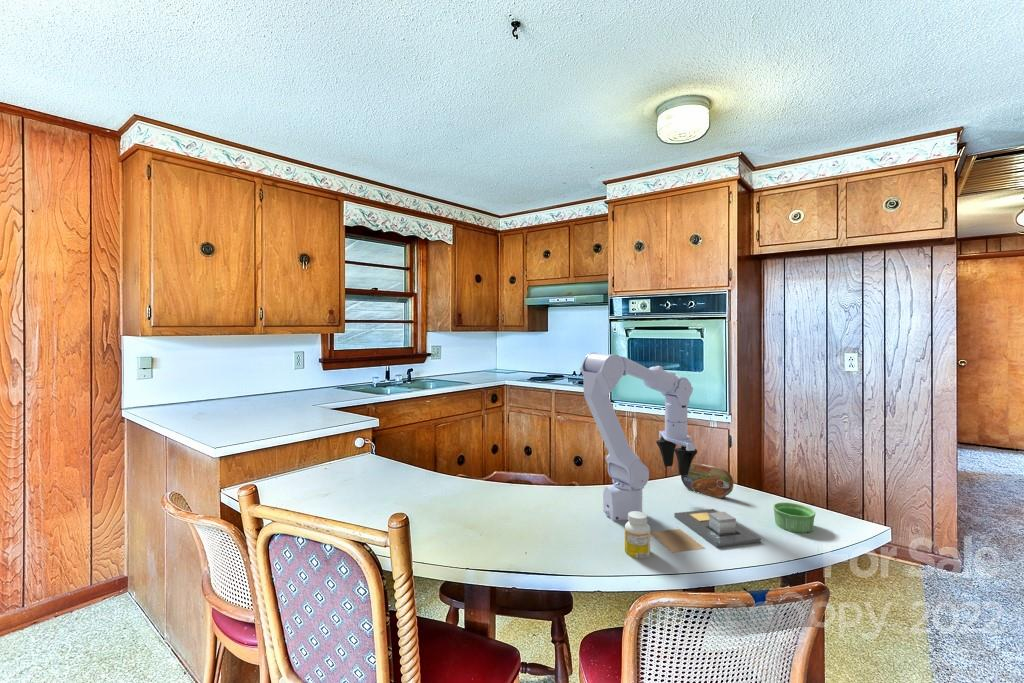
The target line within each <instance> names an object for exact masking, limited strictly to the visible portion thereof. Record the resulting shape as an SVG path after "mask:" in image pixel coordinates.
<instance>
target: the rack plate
mask: <svg viewBox="0 0 1024 683" xmlns="http://www.w3.org/2000/svg"><path fill="white" fill-rule="evenodd" d="M715 512H718V511H717V510H716V509H714V508H709V509H701V510H699V509H698V510H691V511H680V512H674V515H673V516H674V518H675V519H677V521H679V522H680V523H682V524H683V525H684V526H686V527H687V528H689V529H690V530H691V531H692V532H694V533H695V534H697V535H698V536H699V537H701V538H702V539H703V540H705V541H706V542H708V543H709V544H711V545H712V546H713V547H715V548H716V549H722V548H731V547H738V546H746V545H747V546H748V545H753V544H754V545H755V544H762V538H761V537H759V536H758V535H756V534H755V533H753V532H751V531H750V530H748V529H747V528H745V527H743V526H742V525H740V524H738V523H737V522H736V526H735V535H731V536H722V537H720V536H718V535H717V534H715V533H714V532H713V531H711V530H710V529H709V513H715Z"/></svg>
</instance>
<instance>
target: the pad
mask: <svg viewBox="0 0 1024 683" xmlns="http://www.w3.org/2000/svg"><path fill="white" fill-rule="evenodd" d="M650 536H652V537H654V538H655V539H656V540H657V541H658V542H659V543H660V544H662V546H664V547H665V548H666V549H667V550H668V551H669V552H671V553H679V552H686V551H687V552H688V551H697V550H705V549H706V547H704V546H703V545H702V544H700V542H698V541H696V539H694V538H692V537H691V536H690V535H689V534H688V533H686V532H685V531H683V530H682V529H681V528H676V529H675V528H674V529H668V530H658V531H657V530H656V531H650Z"/></svg>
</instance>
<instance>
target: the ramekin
mask: <svg viewBox="0 0 1024 683" xmlns="http://www.w3.org/2000/svg"><path fill="white" fill-rule="evenodd" d="M772 508H773V514H774V522H775V524H776V525H777V526H778V527H779V528H780V529H782V530H785V531H788V532H791V531H792V533H797V532H798V533H799V534H805V533H806V534H807V532H808V533H810V532H812V531H813V529H814V523H815V517H816V514H817V513H816V511H815V510H814V509H812V508H810V506H809V507H808V506H807V505H804V504H799V503H793V502H784V501H783V502H777V503H774V504H773V507H772Z"/></svg>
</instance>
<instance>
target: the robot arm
mask: <svg viewBox="0 0 1024 683" xmlns="http://www.w3.org/2000/svg"><path fill="white" fill-rule="evenodd" d="M580 373H581V374H582V376H583V377H582V378H583V380H582V381H583V396H584V397H583V398H584V399H585V402H586V404H587V406H588V408H589V411H590V413H591V416H592V418H593V420H594V422H595V424H596V427H597V429H598V431H599V434H600V436H601V438H602V440H603V443H604V445H605V447H606V451H607V452H608V454H607V455H606V457H605V460H606V463H607V474H608V475H609V477H610V478H611V482H612V484H611V485H610V486H609V485H608V486H606V487H604V489H603V492H602V494H603V495H602V497H603V498H602V499H603V500H602V501H603V502H602V503H603V504H602V505H603V506H602V507H603V508H602V509H603V513H604V514H605V516H606V517H608V518H609V520H611V521H613V522H614V521H626V520H627V521H628V513H629V512H632V511H639V512H643V489H645V486H646V485H647V484H648V481H649V479H650V471H649V468H648V466H647V465H646V464H644V463H643V462H642V460H641V458H640V456H639V455H637V453H636V452H635V451H633V450H632V448H631V447H630V444H629V442H628V439H627V437H626V435H625V432H624V430H623V427H622V425H621V422H620V421H619V418H618V416H617V413H616V412H615V409H614V406H613V404H612V402H611V399H610V396H609V395H610V393H612V391H613V390H614V389H615V387H616V386H617V384H618V383H619V382H620V380H621V379H622V377H623V376H625V377H626V376H627V375H628V376H630V377H634V378H636V379H639V380H642V381H643V384H644V385H645V386H646V387H647V388H650V389H651V390H655V391H657V392H659V393H661V394H662V396H664V430H659V431H658V438H659V440H655V442H656V444H657V446H658V448H659V451H660V453H661V454H660V455H661V456H662V457H661V458H662V461H663V465H664V467H673V465H674V458H675V457H674V456H676V458H677V466H678V474H679V475H680V476H681V475H688V472H689V469H690V465H691V463H693V460H694V458H695V456H696V455H697V453H698V449H696V444H695V442H693V441H692V440H691V438H692V436H690V435H688V405H689V404H690V398H691V396H692V394H693V390H694V388H693V386H692V383H691V382H690V380H689V379H688V378H687V377H682V376H677V375H676V373H675V372H673V371H670V372H669V371H666V370H665V369H664V367H663V366H661V365H656V366H651V367H646V366H644V365H642V364H640V363H639V362H636V361H634V360H633V359H630V358H628V357H626V356H620V355H618V354H616V353H615V354H606V353H597V352H590V353H588V354H587V355H586V356H585V357H584V359H583V361H582V363H581V365H580ZM677 446H679V448H678V447H677Z"/></svg>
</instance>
